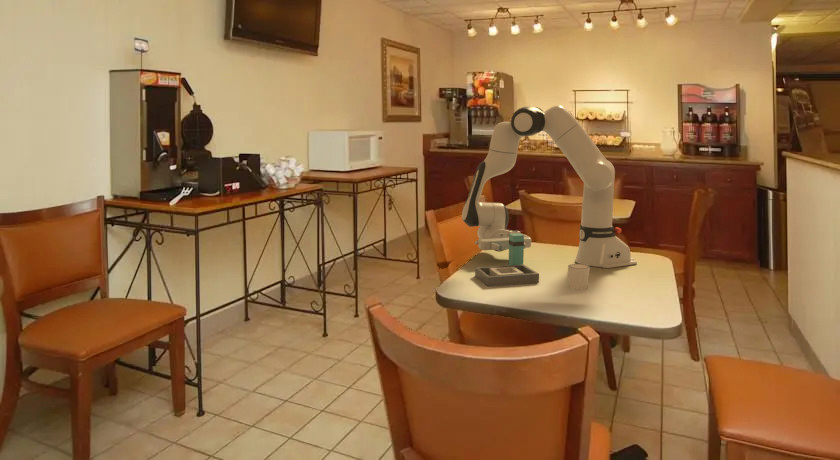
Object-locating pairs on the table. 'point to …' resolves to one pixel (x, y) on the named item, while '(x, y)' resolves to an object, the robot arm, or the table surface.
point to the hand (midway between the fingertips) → (511, 247)
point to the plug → (516, 249)
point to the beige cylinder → (578, 276)
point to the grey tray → (506, 275)
